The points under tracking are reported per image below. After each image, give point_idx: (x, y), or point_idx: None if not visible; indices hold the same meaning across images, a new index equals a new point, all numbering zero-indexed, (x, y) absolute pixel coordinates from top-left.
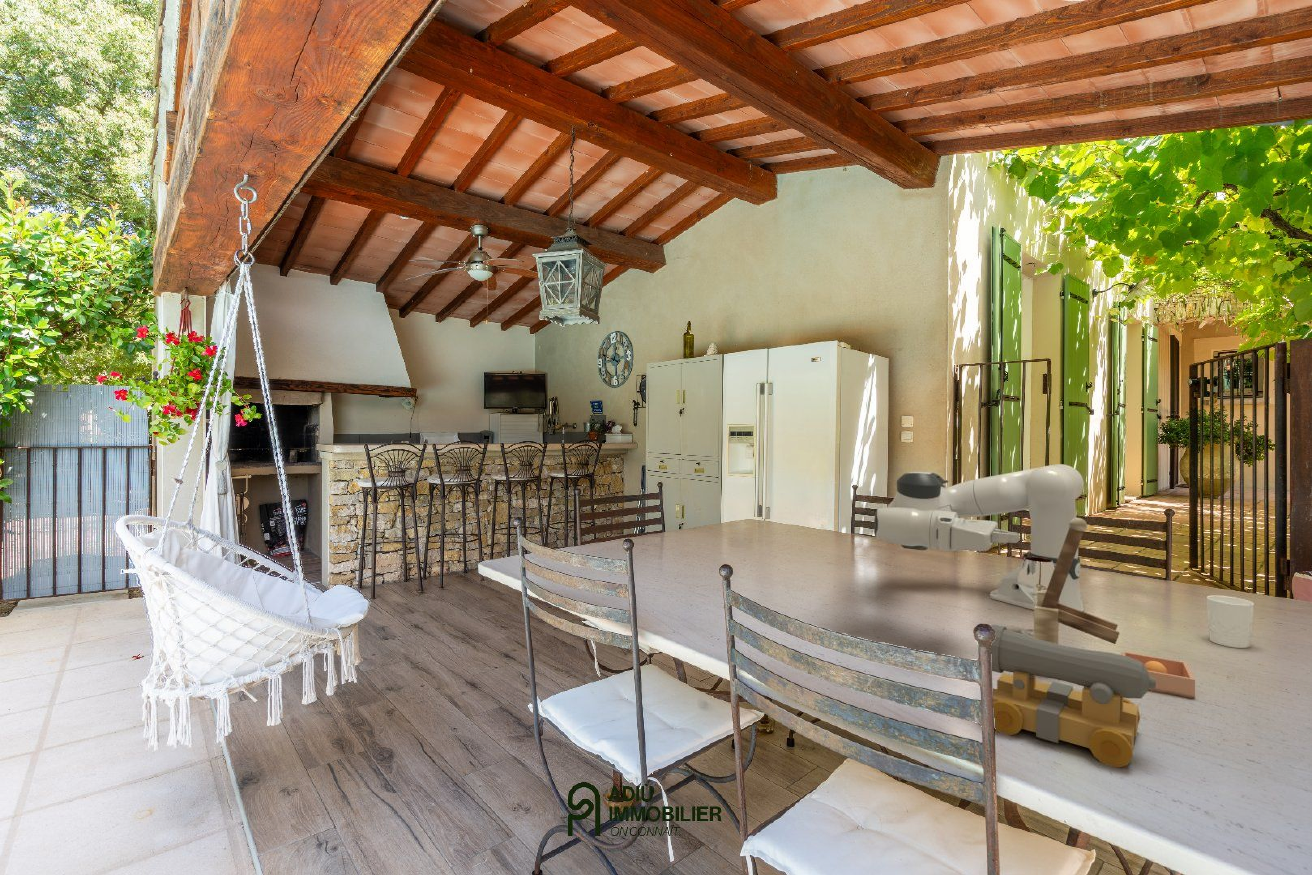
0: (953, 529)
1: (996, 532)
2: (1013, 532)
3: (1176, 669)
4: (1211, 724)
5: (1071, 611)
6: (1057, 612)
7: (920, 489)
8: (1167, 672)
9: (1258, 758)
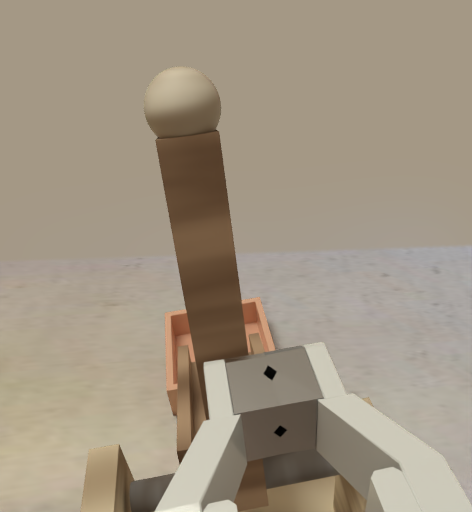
0: None
1: (428, 489)
2: (217, 386)
3: (173, 332)
4: (354, 301)
5: (191, 419)
6: (368, 401)
7: None
8: (175, 348)
9: (420, 268)
